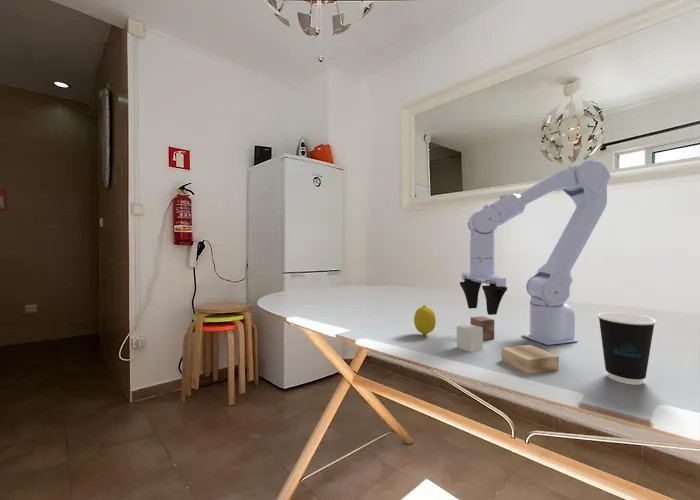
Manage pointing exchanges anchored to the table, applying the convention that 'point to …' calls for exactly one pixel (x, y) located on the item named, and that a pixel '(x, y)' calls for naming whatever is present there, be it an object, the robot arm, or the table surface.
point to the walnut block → (484, 326)
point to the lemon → (424, 320)
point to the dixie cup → (626, 345)
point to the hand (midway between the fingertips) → (481, 311)
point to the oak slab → (530, 359)
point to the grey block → (469, 337)
